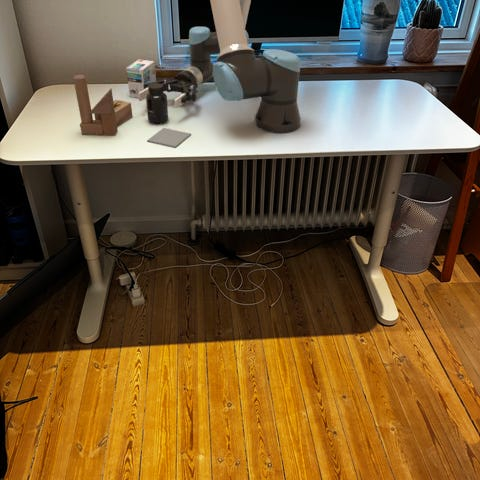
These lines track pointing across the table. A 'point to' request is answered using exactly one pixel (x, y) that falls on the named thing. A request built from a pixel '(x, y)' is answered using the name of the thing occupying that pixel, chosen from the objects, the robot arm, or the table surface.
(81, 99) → the wooden block
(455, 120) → the table surface
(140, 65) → the light bulb box
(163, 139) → the felt pad
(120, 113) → the plane block
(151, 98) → the supplement bottle
